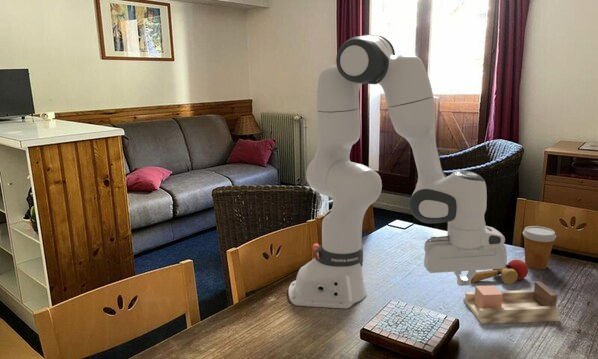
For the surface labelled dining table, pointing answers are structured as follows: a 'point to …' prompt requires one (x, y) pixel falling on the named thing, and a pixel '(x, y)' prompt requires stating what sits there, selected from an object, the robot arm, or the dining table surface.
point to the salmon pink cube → (487, 297)
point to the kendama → (505, 272)
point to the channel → (519, 306)
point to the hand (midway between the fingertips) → (463, 284)
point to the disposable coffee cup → (538, 246)
